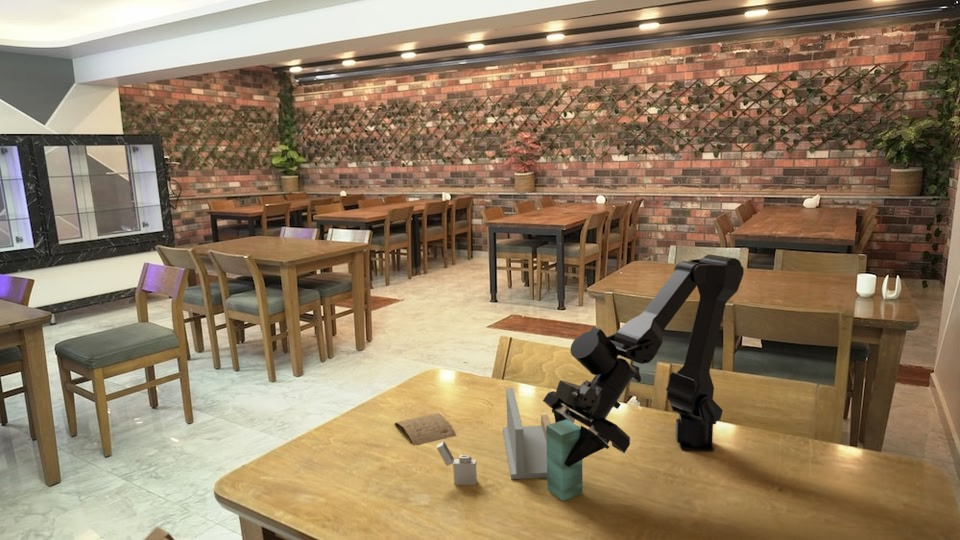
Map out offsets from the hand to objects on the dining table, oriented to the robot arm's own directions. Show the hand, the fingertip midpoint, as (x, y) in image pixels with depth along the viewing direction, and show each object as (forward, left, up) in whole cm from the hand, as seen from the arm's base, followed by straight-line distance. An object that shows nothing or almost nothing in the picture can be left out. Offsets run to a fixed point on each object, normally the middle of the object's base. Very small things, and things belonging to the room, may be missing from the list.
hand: (558, 459), depth 108 cm
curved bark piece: (+31, -23, -7) cm, 39 cm away
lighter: (+19, -2, -7) cm, 20 cm away
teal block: (-1, -1, -7) cm, 7 cm away
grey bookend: (+6, -15, -7) cm, 17 cm away
